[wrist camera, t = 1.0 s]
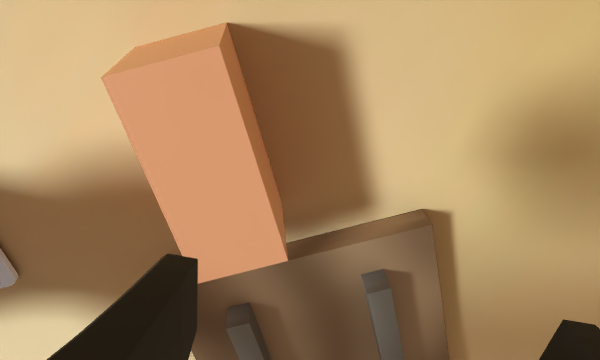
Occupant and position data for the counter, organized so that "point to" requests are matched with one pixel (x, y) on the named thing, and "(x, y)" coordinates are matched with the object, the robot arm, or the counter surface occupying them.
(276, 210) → the terracotta cardboard box
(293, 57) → the counter surface
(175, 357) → the robot arm
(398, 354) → the display stand
